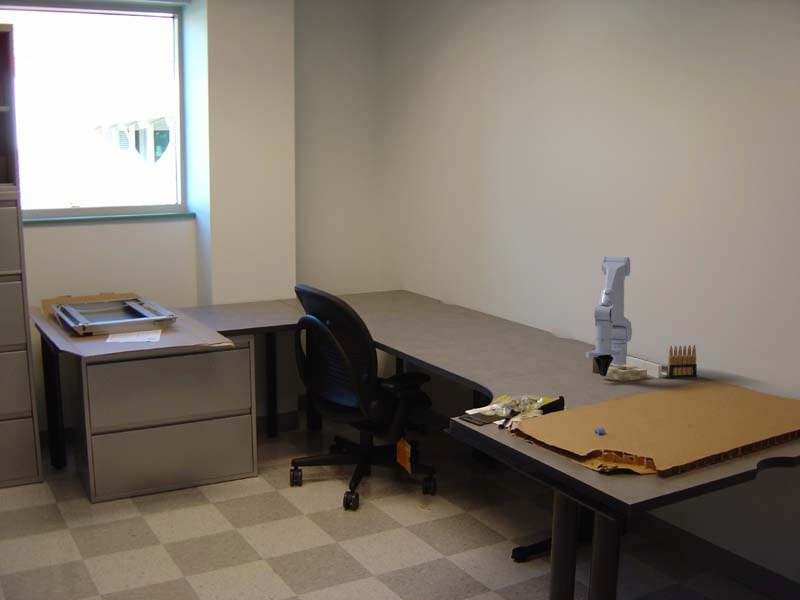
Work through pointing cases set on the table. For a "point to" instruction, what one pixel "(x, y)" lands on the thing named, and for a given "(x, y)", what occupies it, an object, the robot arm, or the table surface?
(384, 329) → the table surface
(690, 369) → the ammunition clip
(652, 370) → the white rectangular slab
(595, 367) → the dowel
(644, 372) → the block
